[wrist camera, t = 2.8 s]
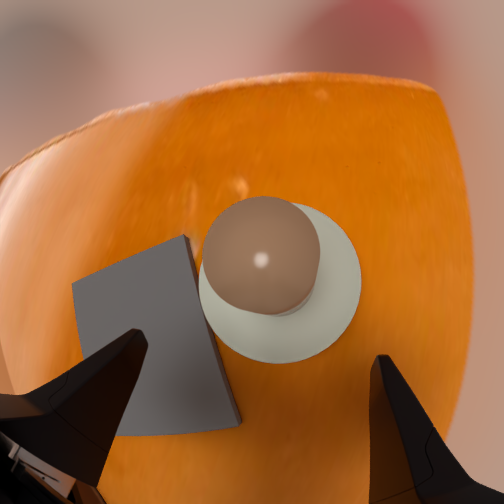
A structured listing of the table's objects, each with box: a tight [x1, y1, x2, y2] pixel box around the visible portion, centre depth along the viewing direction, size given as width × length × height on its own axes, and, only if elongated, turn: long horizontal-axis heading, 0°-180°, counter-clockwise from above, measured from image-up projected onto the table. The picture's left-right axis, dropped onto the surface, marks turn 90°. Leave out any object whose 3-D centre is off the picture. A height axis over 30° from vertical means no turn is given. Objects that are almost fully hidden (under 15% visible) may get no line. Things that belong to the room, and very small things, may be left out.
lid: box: [199, 196, 361, 364], centre depth 13 cm, size 10×10×8 cm
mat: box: [72, 234, 242, 436], centre depth 21 cm, size 16×14×1 cm
